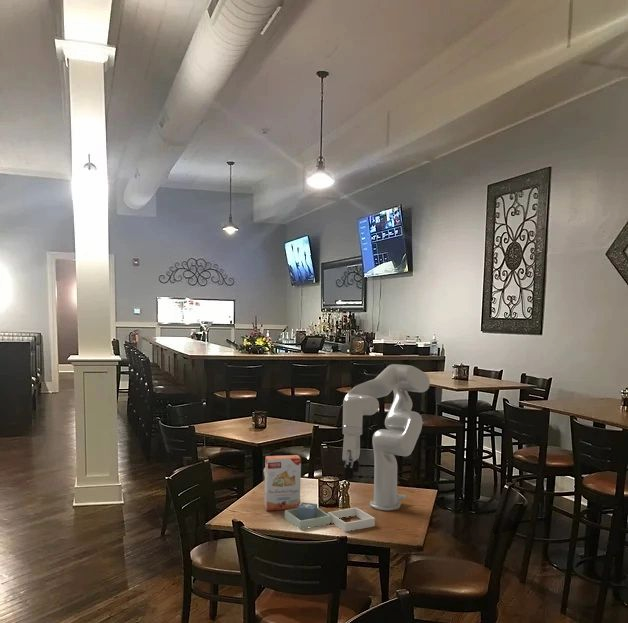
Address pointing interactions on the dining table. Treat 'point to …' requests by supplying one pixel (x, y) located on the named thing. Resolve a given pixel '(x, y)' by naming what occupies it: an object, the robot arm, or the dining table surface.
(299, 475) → the cracker box
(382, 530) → the dining table surface
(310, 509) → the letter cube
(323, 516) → the sage square tray
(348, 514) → the white square tray
